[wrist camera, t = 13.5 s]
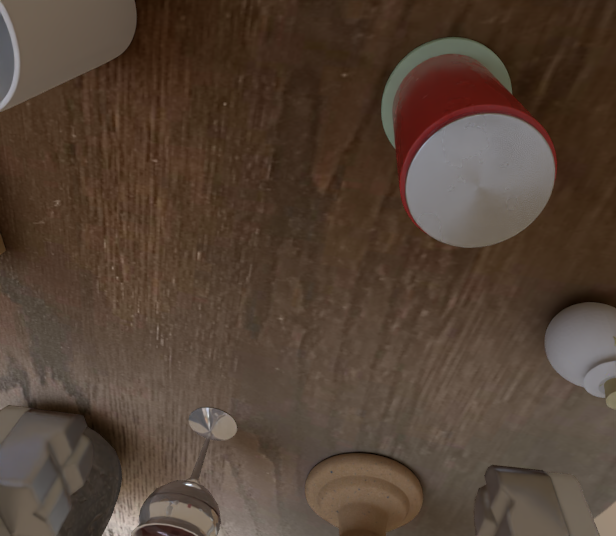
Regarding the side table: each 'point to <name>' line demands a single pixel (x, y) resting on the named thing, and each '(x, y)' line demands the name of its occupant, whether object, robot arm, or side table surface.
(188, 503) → the wineglass
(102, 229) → the side table surface
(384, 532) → the candle holder
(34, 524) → the robot arm
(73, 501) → the dark grey metal pot
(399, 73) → the coaster
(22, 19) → the mug
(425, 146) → the can
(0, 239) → the holder
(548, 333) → the ornament
